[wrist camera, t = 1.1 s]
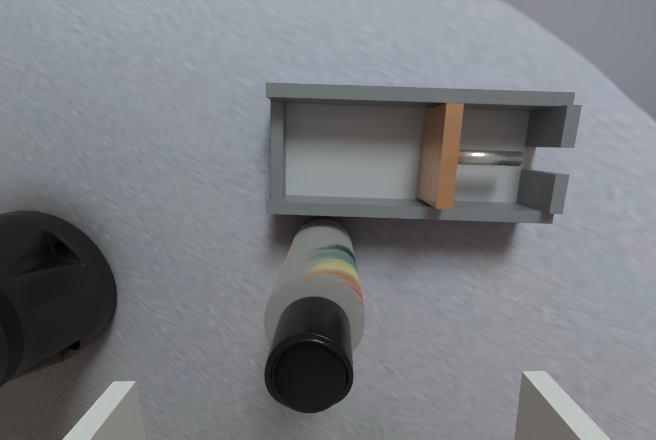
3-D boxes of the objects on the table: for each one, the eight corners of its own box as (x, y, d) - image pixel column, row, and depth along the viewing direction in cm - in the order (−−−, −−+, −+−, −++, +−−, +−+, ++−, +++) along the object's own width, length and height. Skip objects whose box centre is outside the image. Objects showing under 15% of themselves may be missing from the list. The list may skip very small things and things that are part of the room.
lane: (276, 203, 33) (264, 216, 27) (276, 92, 31) (263, 80, 25) (519, 211, 33) (560, 226, 27) (536, 100, 31) (584, 90, 25)
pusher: (417, 196, 32) (436, 208, 26) (424, 110, 30) (446, 102, 24) (497, 199, 32) (534, 212, 26) (508, 113, 30) (551, 106, 24)
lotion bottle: (298, 276, 35) (253, 446, 15) (289, 221, 34) (227, 328, 14) (355, 269, 35) (383, 433, 15) (347, 213, 33) (369, 312, 14)
